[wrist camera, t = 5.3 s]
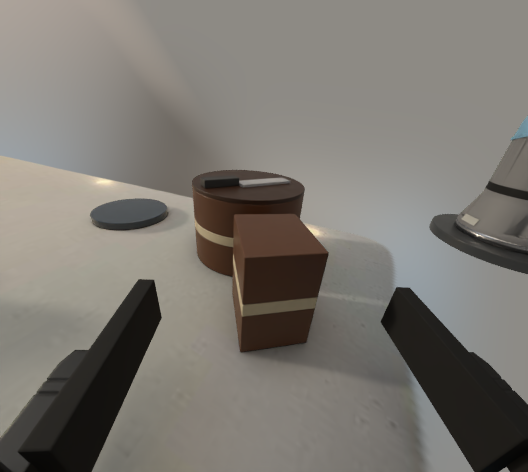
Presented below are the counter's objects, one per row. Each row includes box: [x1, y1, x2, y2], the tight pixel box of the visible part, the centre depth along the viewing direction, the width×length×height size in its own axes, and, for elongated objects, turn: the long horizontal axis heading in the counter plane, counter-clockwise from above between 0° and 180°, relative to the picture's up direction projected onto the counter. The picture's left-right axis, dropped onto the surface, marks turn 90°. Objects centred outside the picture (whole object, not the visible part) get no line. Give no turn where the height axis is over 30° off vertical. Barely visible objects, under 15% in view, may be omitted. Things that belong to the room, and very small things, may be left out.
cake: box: [192, 170, 305, 276], centre depth 26 cm, size 12×12×9 cm
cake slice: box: [233, 214, 328, 352], centre depth 17 cm, size 6×5×8 cm
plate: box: [90, 199, 168, 230], centre depth 34 cm, size 10×10×1 cm
